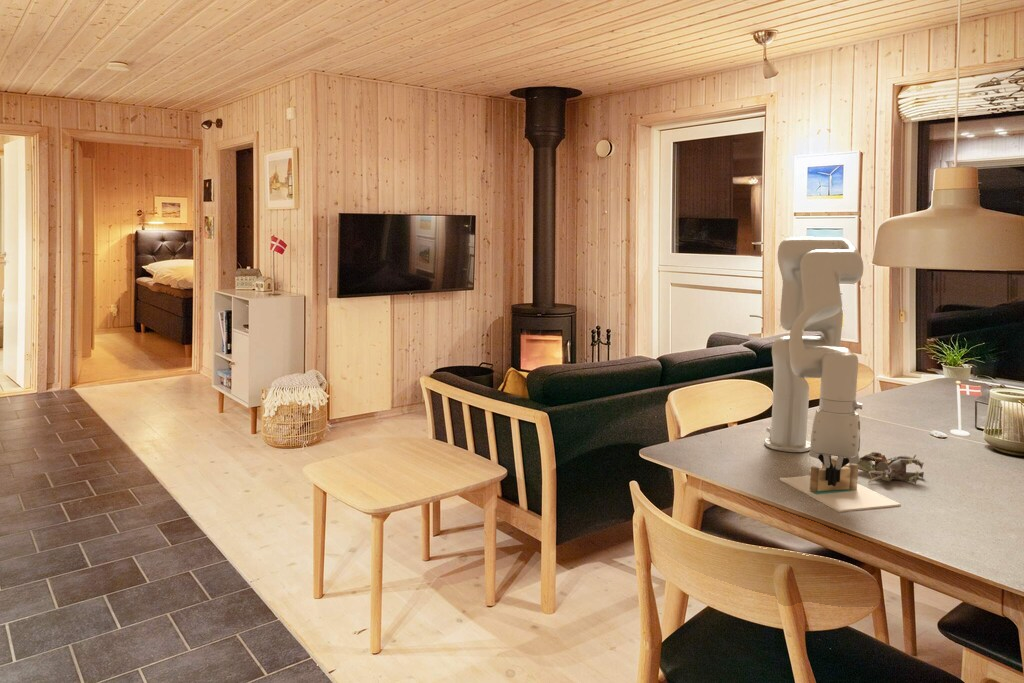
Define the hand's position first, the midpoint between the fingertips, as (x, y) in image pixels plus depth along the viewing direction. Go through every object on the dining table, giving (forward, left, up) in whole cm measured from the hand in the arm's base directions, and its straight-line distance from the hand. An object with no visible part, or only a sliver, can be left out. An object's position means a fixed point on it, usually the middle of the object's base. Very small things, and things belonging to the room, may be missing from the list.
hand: (832, 484), depth 174 cm
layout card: (-2, +3, -3) cm, 5 cm away
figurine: (-10, +22, -4) cm, 25 cm away
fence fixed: (-7, +7, -3) cm, 11 cm away
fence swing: (-3, +1, -2) cm, 4 cm away
